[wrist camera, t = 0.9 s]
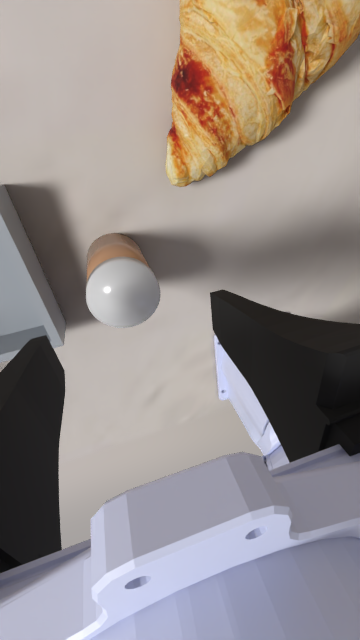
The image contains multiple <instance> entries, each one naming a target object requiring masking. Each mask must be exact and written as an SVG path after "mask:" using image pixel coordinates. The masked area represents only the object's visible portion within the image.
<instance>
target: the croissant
mask: <svg viewBox="0 0 360 640" xmlns="http://www.w3.org/2000/svg"><path fill="white" fill-rule="evenodd" d="M179 19H180V24H181V29H180V46H179V49H178V53H177V56H176V59H175V66H174V69H173V73H172V80H171V90H172V103H173V107H172V118H173V122H172V128H171V129H170V131H169V133H168V136H167V158H166V163H165V166H166V173H167V176H168V178H169V180H170V182H171V184H172V185H175V186H178V187H184V186H187V185H189V184H191V182H192V181H194V180H195V181H200V180H202V178H203V177H204V176H205V175H207V176H209V177H211V176H212V175H213V174H215V173H216V171H217V170H219V169H221V168H223V167H225V166H226V165H227V163H228V160H229V158H232V157H234V156H235V155H236V154H237V153H238V152H240V151H241V150H242V149H243V148H245V147H246V145H248V146H251V145H254V144H255V143H257V142H259V141H261V140H263V139H265V138H266V137H267V136H268V135H269V134H270V132H271V131H272V130H274V129H275V128H276V127H277V126H279V125H280V123H281V122H282V120H283V119H284V118H285V117H286V116H287V115H288V114H289V113H290V110H291V106H292V102H293V101H294V100H295V99H296V98H298V97H299V96H300V95H301V94H302V92H303V91H305V90H307V89H308V87H309V86H310V84H312V83H314V82H315V81H316V80H317V79H319V78H320V77H321V76H322V75H323V74H324V73H325V72H327V71H328V70H329V69H330V68H331V67H332V66H334V65H335V63H336V62H337V61H338V60H339V58H340V57H341V56H342V55H343V54H344V52H345V51H346V50H347V49H348V48H349V47H350V46H351V45H352V43H353V42H354V41H355V40H356V39H357V37H358V35H359V33H360V0H180V16H179Z"/></svg>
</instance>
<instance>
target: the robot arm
mask: <svg viewBox="0 0 360 640" xmlns="http://www.w3.org/2000/svg"><path fill="white" fill-rule="evenodd" d="M210 297H211V310H212V324H213V330H214V332H215V335H214V347H215V359H216V372H217V384H218V396H219V399H220V400H226V399H229V400H230V402H231V403H232V405H233V407H234V409H235V410H236V412H237V414H238V416H239V418H240V419H241V421H242V423H243V425H244V426H245V428H246V430H247V432H248V434H249V435H250V437H251V439H252V440H253V441H254V443H255V444H256V445H257V446H258V447H259V448H260V450H261V451H262V453H263V456H262V457H261V456H258V455H253V454H249V453H245V452H239V453H234V454H229V455H224V456H221V457H218V458H216V459H213V460H210V461H207V462H204V463H202V464H199V465H196V466H193V467H191V468H188V469H185V470H182V471H180V472H177V473H174V474H171V475H168V476H166V477H163V478H160V479H158V480H155V481H152V482H149V483H146V484H144V485H141V486H138V487H135V488H133V489H130V490H127V491H125V492H123V493H121V494H119V495H117V496H115V497H113V498H112V499H110V500H108V501H106V502H105V504H104V505H103V506H102V507H101V508H100V509H99V510H98V511H97V513H96V514H95V515H94V516H93V517H92V518H91V539H89V540H86V541H84V542H81V543H78V544H76V545H73V546H71V547H68V548H65V549H63V550H62V549H61V535H60V515H59V481H58V480H59V479H58V459H59V438H60V430H61V422H62V414H63V406H64V397H65V374H64V369H63V367H62V365H61V363H60V361H59V359H58V357H57V355H56V353H55V351H54V349H53V347H52V345H51V343H50V341H49V339H48V337H47V335H44V336H40V337H36V338H33V339H30V340H29V341H28V342H27V343H26V344H25V345H24V346H23V348H22V349H21V350H20V351H19V352H18V353H17V354H16V356H15V357H14V358H13V359H12V360H11V361H10V362H9V363H8V365H7V366H6V367H5V368H4V369H3V370H2V371H1V372H0V640H360V324H351V323H340V322H332V321H324V320H318V319H312V318H307V317H302V316H298V315H294V314H290V313H286V312H282V311H279V310H276V309H273V308H270V307H267V306H264V305H261V304H258V303H256V302H253V301H251V300H248V299H246V298H243V297H241V296H238V295H236V294H234V293H231V292H228V291H226V290H220V291H216V292H212V293H210Z"/></svg>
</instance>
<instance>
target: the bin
mask: <svg viewBox="0 0 360 640" xmlns="http://www.w3.org/2000/svg"><path fill="white" fill-rule="evenodd" d="M65 330H66V321H65V319H64V317H63V315H62V312H61V310H60V308H59V306H58V303H57V301H56V299H55V297H54V295H53V292H52V290H51V288H50V286H49V283H48V281H47V279H46V277H45V274H44V272H43V270H42V268H41V265H40V263H39V261H38V259H37V257H36V254H35V252H34V250H33V248H32V245H31V243H30V241H29V239H28V236H27V234H26V232H25V230H24V228H23V225H22V223H21V221H20V219H19V216H18V214H17V212H16V210H15V207H14V205H13V203H12V201H11V198H10V196H9V194H8V192H7V190H6V187H5V185H0V362H4V361H8V360H11V359H13V358H14V357H15V356H16V354H17V353H18V352H19V351H20V350H21V349H22V348H23V346H24V345H25V344H26V343H27V342H28V341H29V340H30V339H33V338H36V337H40V336H44V335H47V337H48V339H49V341H50V343H51V345H52V347H53V348H56V347H59V346H63V345H64V338H65Z"/></svg>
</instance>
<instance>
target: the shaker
mask: <svg viewBox="0 0 360 640" xmlns="http://www.w3.org/2000/svg"><path fill="white" fill-rule="evenodd" d="M159 301H160V287H159V283H158V281H157V279H156V277H155V275H154V273H153V272H152V270H151V269H150V267H149V266H148V264H147V262H146V260H145V258H144V256H143V254H142V252H141V250H140V248H139V247H138V245H137V244H136V243H135V242H134V241H133V240H132V239H131V238H129V237H127V236H125V235H122V234H117V233H111V234H106V235H103V236H101V237H99V238H98V239H96V240H95V241H94V242H93V243H92V245H91V246H90V248H89V250H88V254H87V284H86V302H87V305H88V308H89V310H90V312H91V313H92V314H93V316H94V317H95V318H96V319H98V320H99V321H100V322H102V323H104V324H106V325H108V326H112V327H117V328H127V327H132V326H136V325H138V324H140V323H142V322H144V321H146V320H147V319H148V318H149V317H150V316H151V315H152V314H153V313H154V312H155V310H156V308H157V306H158V304H159Z"/></svg>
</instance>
